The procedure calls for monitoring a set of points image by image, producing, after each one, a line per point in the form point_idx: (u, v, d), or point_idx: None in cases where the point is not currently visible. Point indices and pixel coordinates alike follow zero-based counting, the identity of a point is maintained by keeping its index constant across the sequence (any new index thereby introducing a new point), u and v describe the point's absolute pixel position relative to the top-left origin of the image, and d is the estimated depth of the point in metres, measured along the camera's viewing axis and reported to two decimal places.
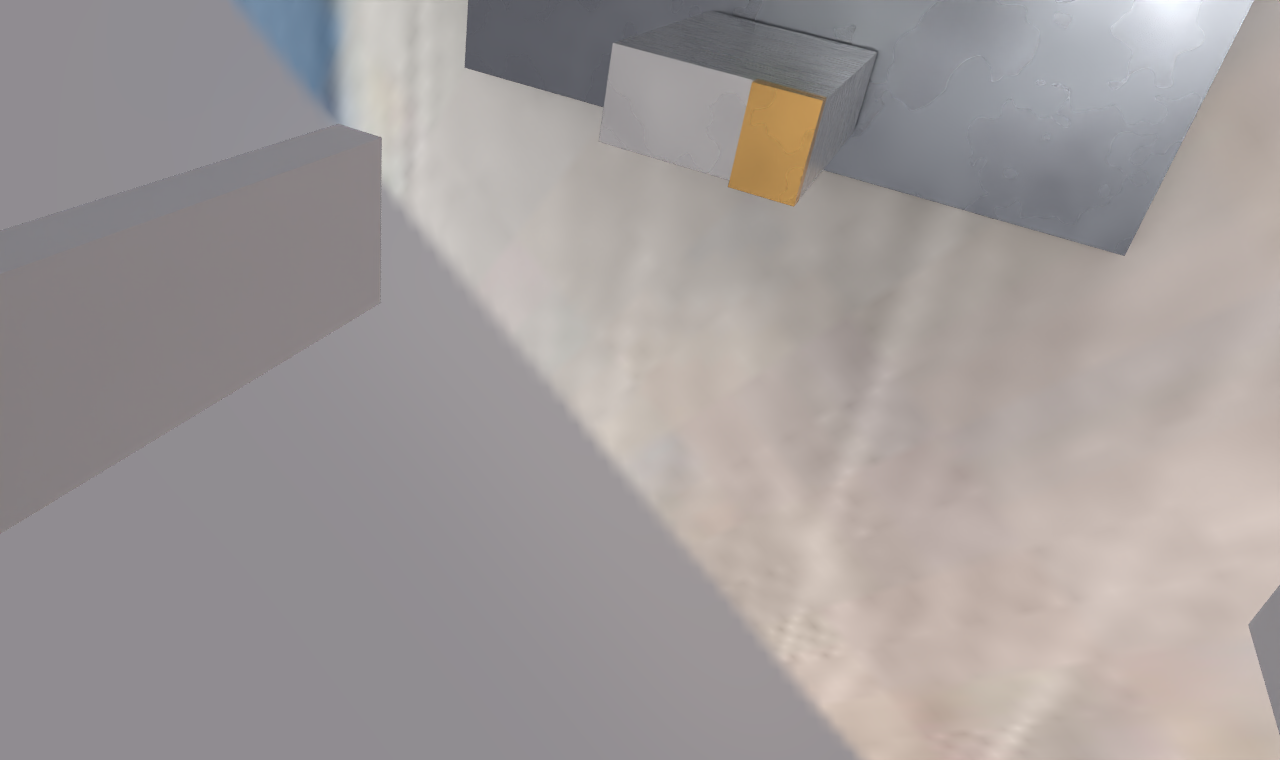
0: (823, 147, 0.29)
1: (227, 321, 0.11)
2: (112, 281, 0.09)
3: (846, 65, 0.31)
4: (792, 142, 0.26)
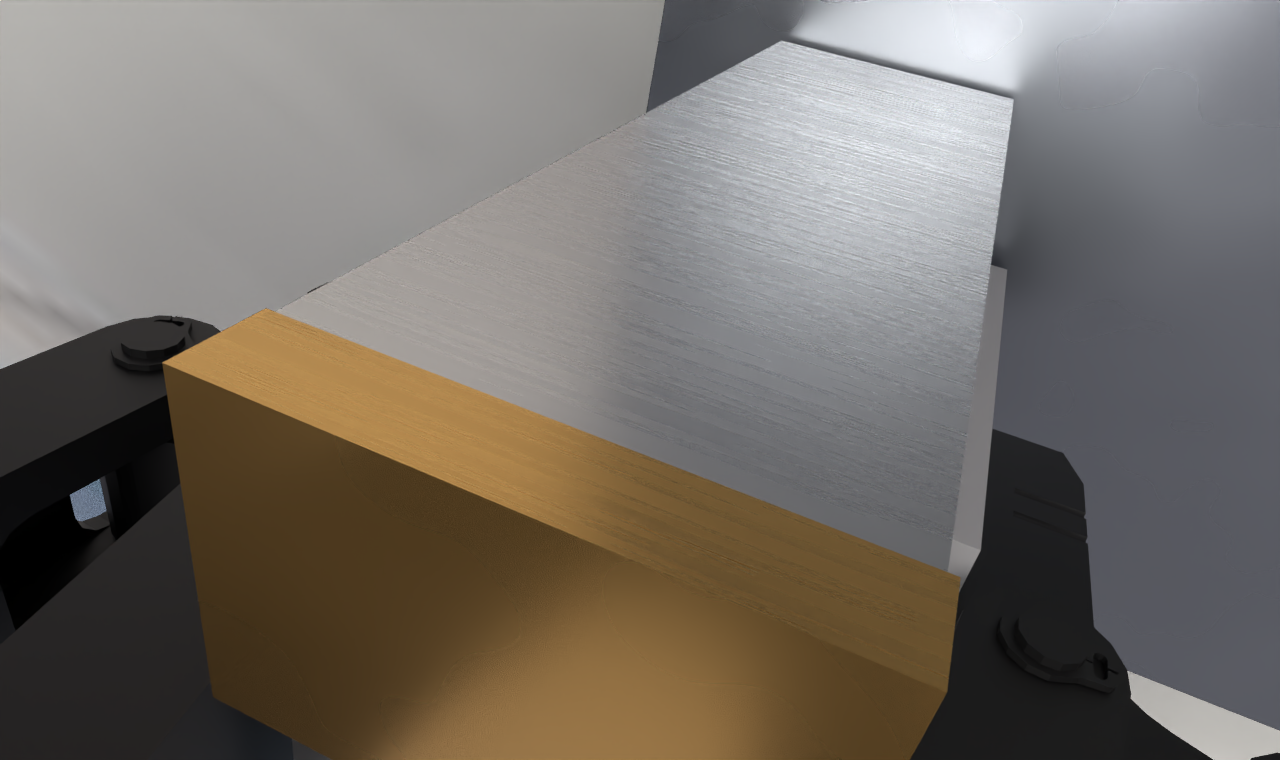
0: None
1: None
2: None
3: None
4: None
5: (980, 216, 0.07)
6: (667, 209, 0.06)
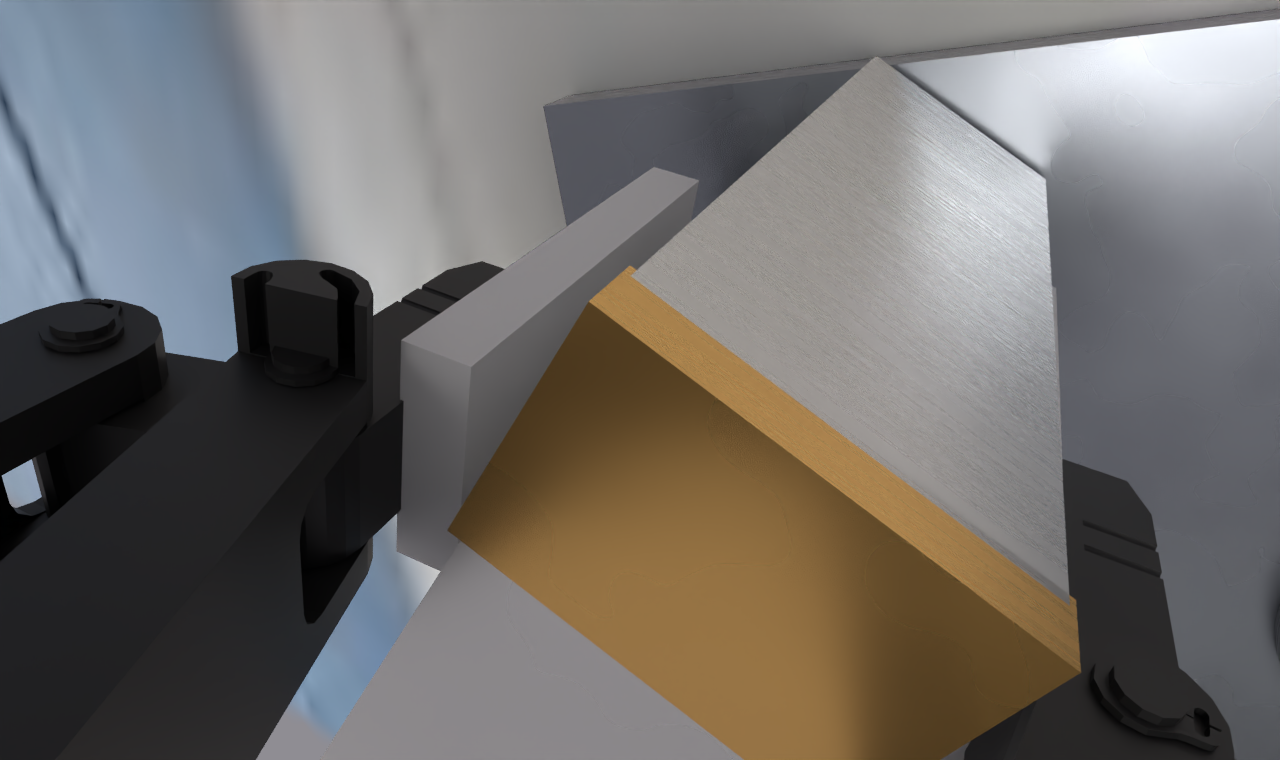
0: None
1: None
2: (561, 329, 0.10)
3: None
4: None
5: (1042, 300, 0.09)
6: (847, 235, 0.07)
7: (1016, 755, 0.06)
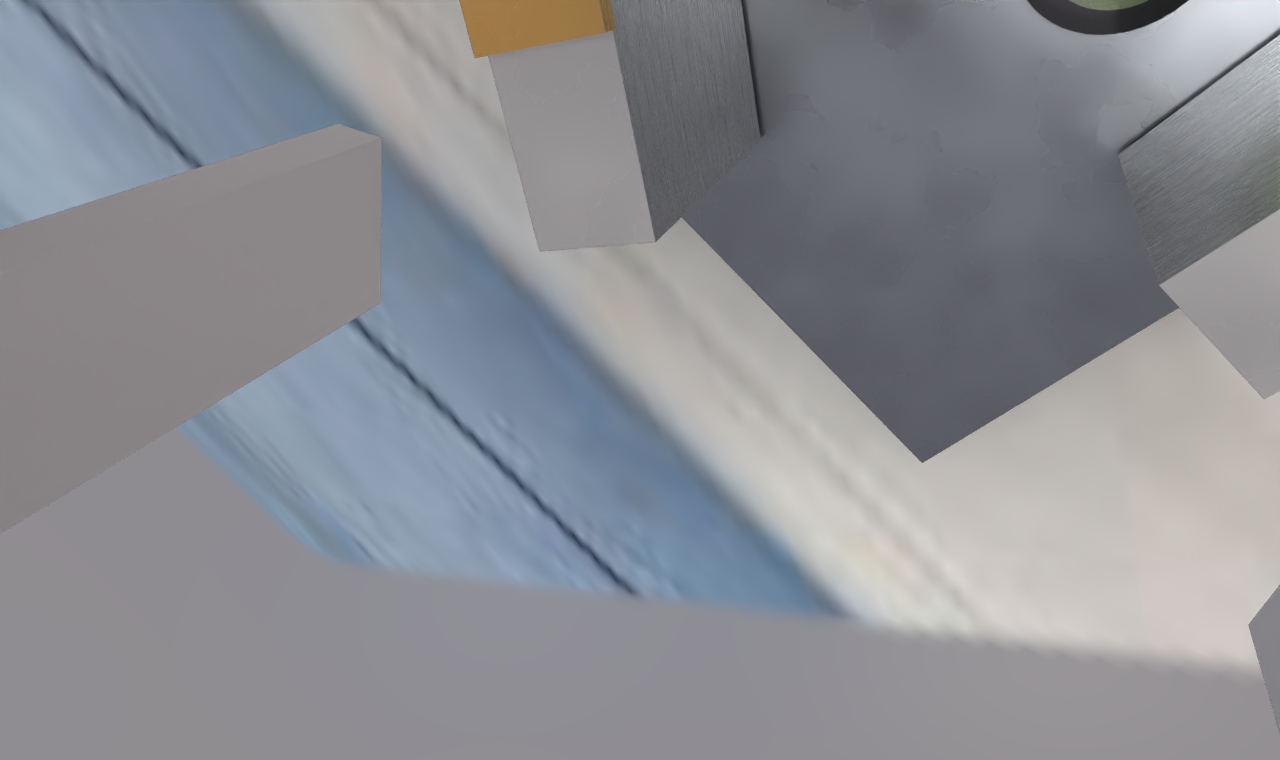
0: None
1: (227, 321, 0.11)
2: (112, 281, 0.09)
3: None
4: None
5: None
6: None
7: None
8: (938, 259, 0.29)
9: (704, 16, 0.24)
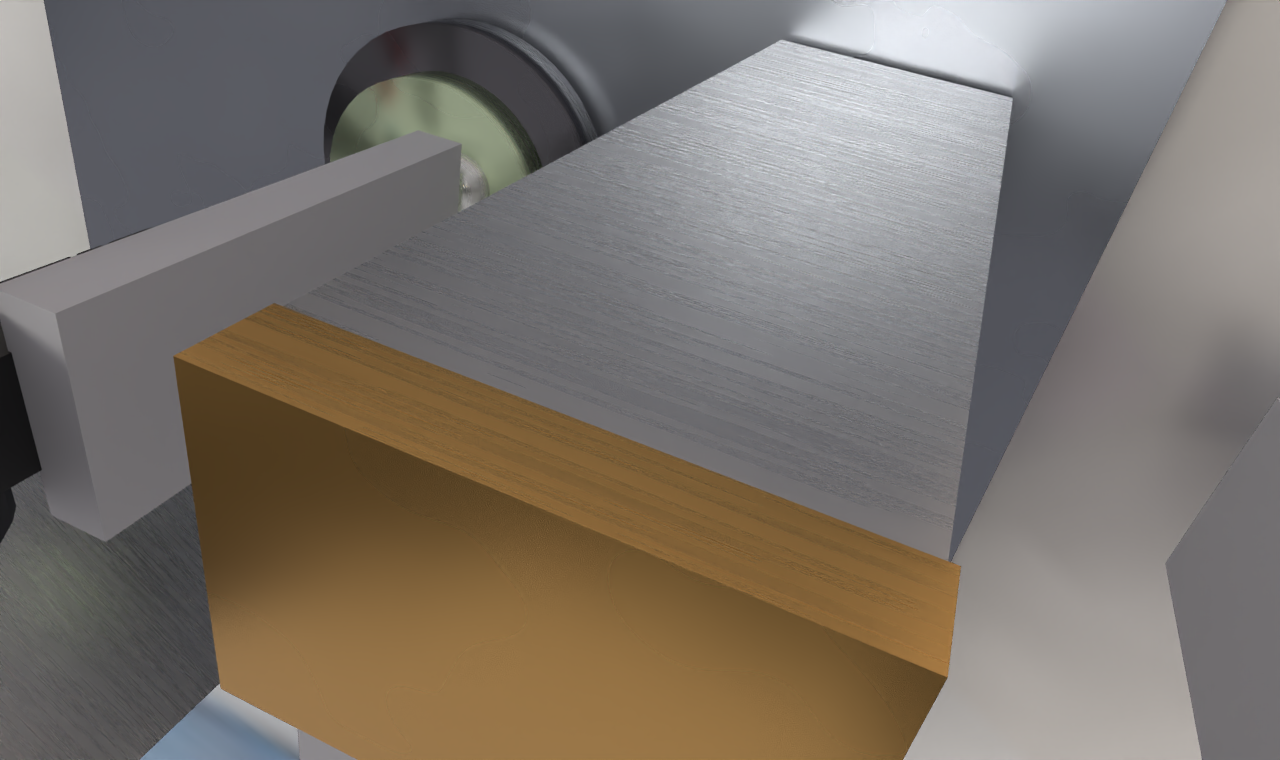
0: (796, 270, 0.06)
1: None
2: (231, 284, 0.09)
3: None
4: (452, 576, 0.04)
5: None
6: None
7: None
8: None
9: None
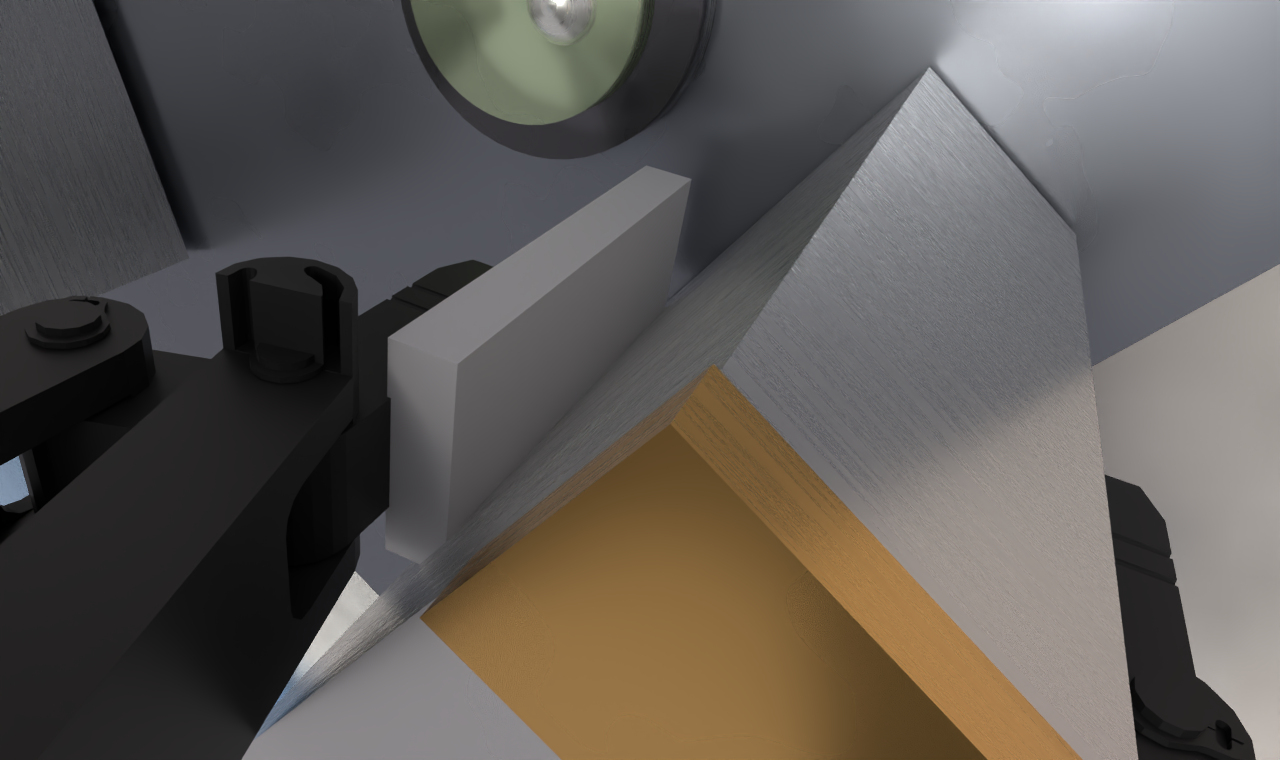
0: (1009, 439, 0.06)
1: (590, 357, 0.12)
2: (550, 326, 0.10)
3: (852, 157, 0.09)
4: (797, 697, 0.04)
5: None
6: None
7: None
8: None
9: None
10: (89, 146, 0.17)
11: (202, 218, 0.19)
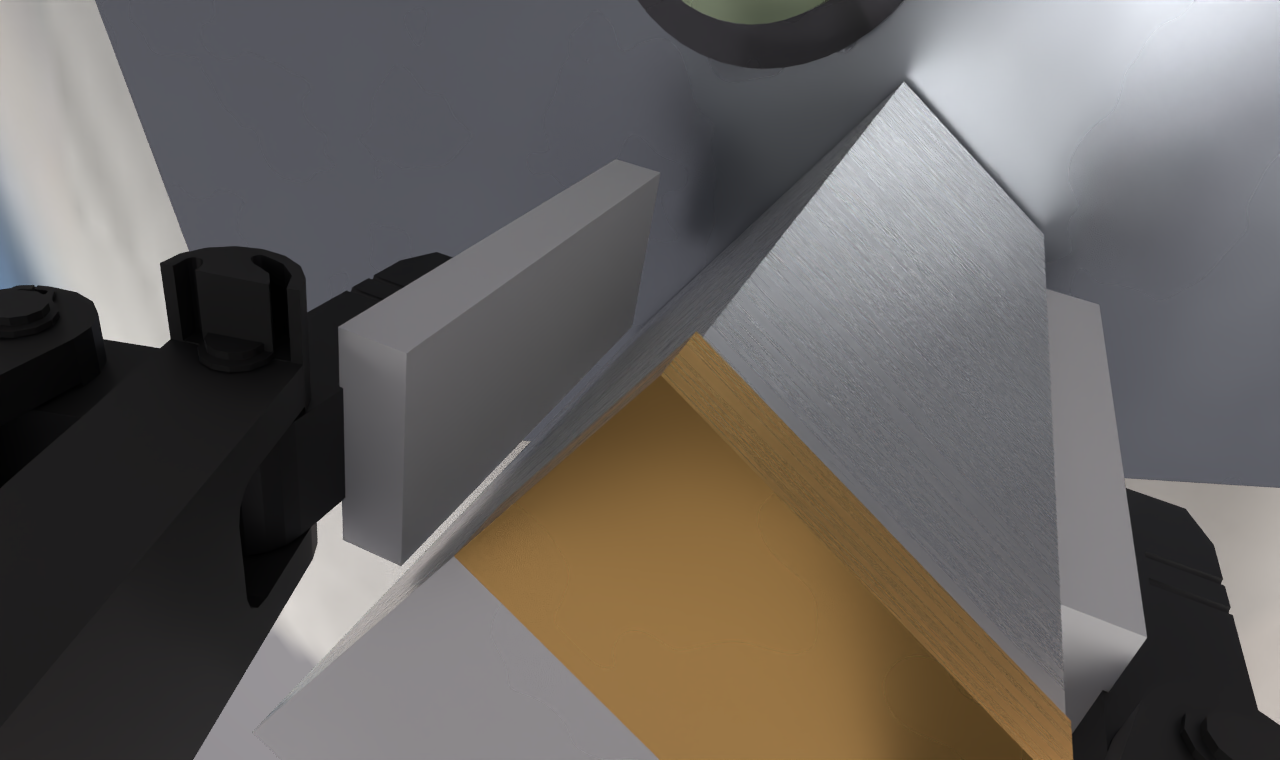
0: (961, 406, 0.07)
1: (555, 350, 0.12)
2: (508, 318, 0.10)
3: (828, 165, 0.10)
4: (769, 603, 0.05)
5: None
6: None
7: None
8: (360, 193, 0.18)
9: None
10: None
11: None
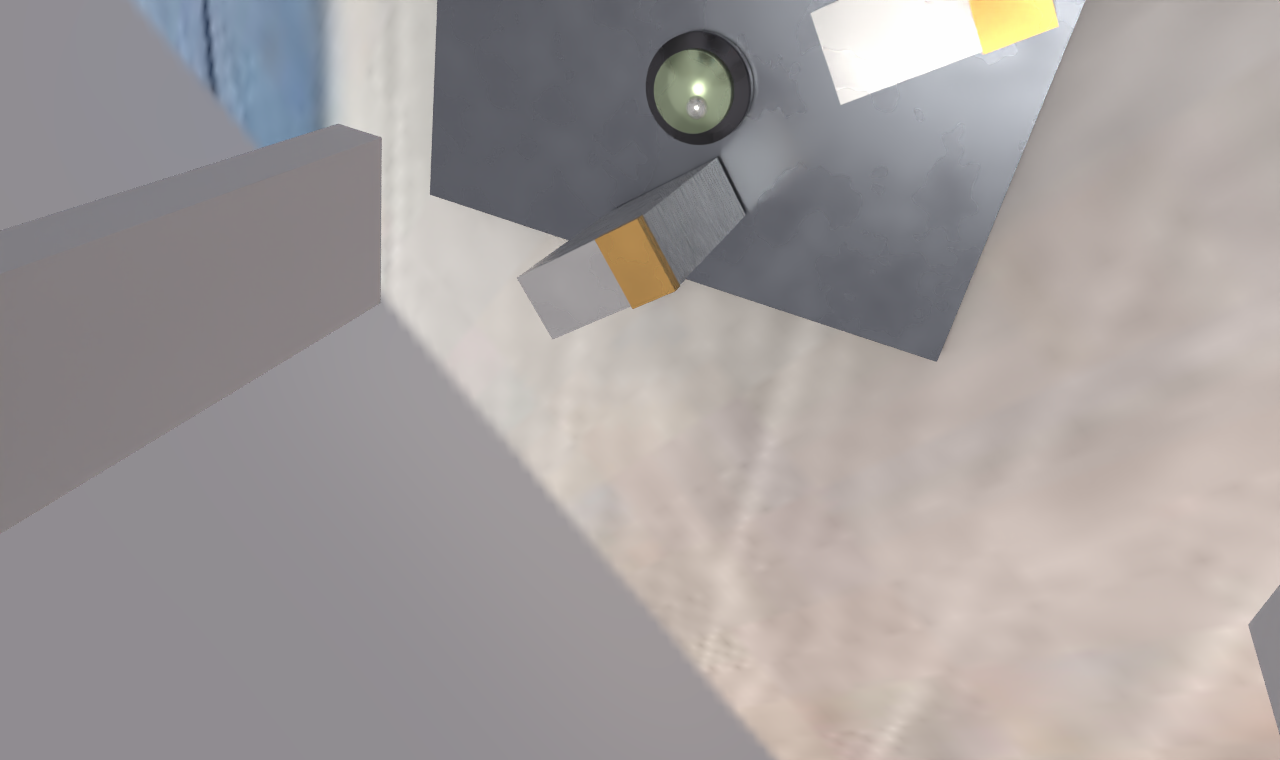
0: (685, 242, 0.38)
1: (227, 321, 0.11)
2: (112, 281, 0.09)
3: (681, 183, 0.40)
4: (642, 255, 0.35)
5: None
6: None
7: None
8: (523, 121, 0.47)
9: None
10: None
11: None
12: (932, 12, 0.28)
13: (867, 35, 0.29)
